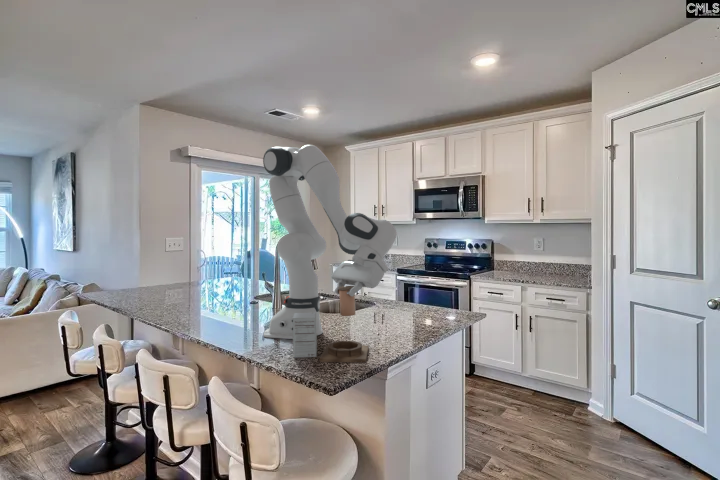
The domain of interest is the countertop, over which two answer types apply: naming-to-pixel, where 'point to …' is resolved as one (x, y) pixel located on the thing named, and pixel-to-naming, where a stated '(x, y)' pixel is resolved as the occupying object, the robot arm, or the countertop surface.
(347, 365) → the countertop surface
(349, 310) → the spice jar
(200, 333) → the countertop surface
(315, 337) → the supplement box
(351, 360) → the jar stand
